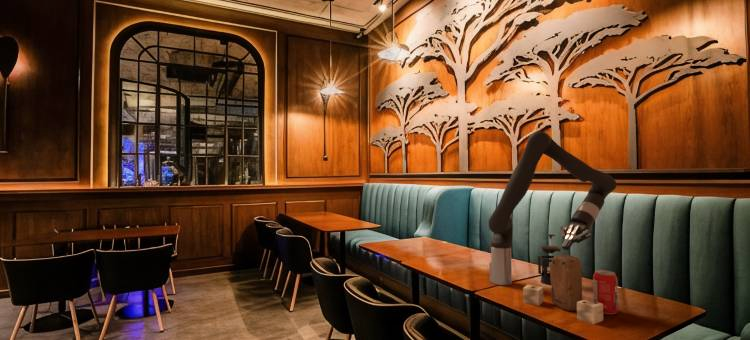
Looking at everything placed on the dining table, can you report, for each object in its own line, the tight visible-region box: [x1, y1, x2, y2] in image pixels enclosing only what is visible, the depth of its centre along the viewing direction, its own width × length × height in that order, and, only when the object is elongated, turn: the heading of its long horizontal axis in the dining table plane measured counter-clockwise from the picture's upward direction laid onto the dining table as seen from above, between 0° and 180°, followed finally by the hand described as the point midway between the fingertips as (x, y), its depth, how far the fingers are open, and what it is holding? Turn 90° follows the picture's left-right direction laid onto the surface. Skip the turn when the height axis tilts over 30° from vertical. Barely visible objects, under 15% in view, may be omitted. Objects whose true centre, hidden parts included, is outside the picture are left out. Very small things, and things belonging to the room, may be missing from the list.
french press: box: [537, 233, 562, 286], centre depth 177 cm, size 12×9×23 cm
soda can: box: [592, 269, 619, 316], centre depth 139 cm, size 8×8×15 cm
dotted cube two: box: [576, 298, 604, 325], centre depth 132 cm, size 6×6×6 cm
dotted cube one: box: [522, 284, 544, 306], centre depth 150 cm, size 6×6×6 cm
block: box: [549, 253, 583, 312], centre depth 144 cm, size 11×8×20 cm
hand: (564, 248), depth 144 cm, fingers closed
